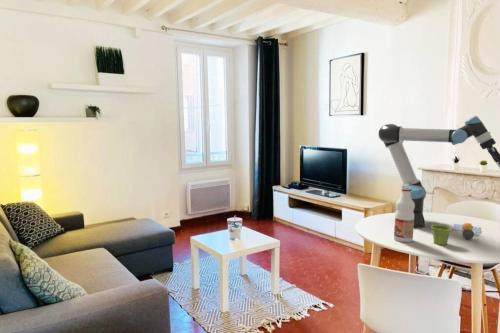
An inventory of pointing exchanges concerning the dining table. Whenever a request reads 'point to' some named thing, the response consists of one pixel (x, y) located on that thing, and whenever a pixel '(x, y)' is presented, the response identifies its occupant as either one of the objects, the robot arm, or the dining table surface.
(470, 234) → the ball
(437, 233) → the plant pot
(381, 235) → the dining table surface
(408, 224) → the fruit juice
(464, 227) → the ball
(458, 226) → the mark
